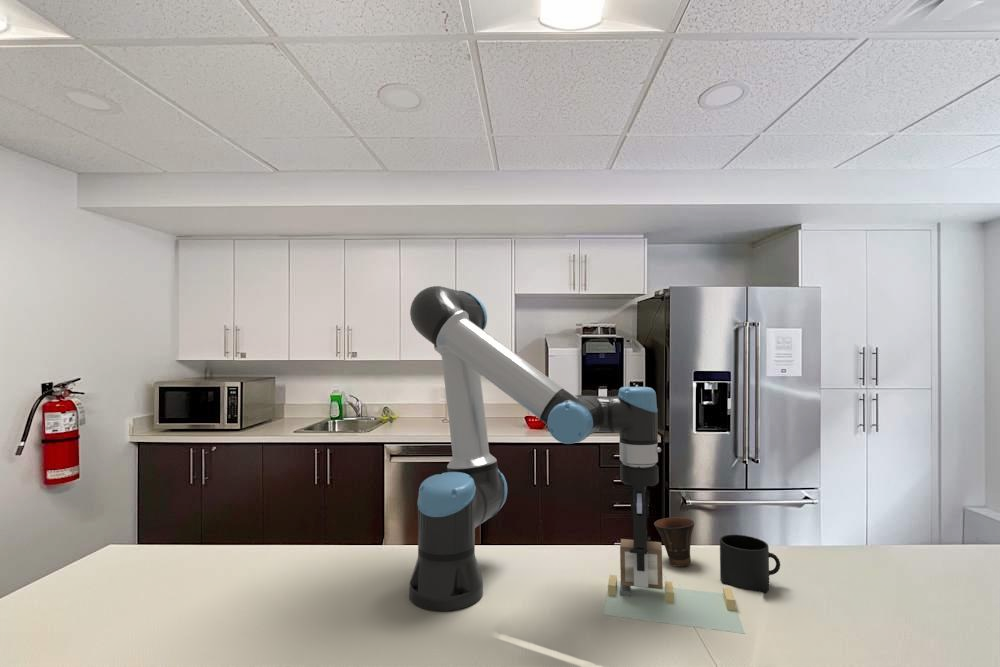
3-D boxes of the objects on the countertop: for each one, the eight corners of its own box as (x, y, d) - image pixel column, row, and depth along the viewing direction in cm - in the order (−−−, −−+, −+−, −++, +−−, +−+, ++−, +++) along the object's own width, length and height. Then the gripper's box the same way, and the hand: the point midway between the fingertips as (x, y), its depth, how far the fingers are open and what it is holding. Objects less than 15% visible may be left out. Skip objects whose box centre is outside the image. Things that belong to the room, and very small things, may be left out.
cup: (652, 554, 127) (651, 513, 127) (690, 556, 125) (689, 514, 126) (657, 569, 118) (657, 525, 118) (698, 571, 117) (698, 527, 117)
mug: (790, 597, 104) (789, 552, 105) (728, 594, 106) (727, 549, 106) (771, 577, 114) (770, 535, 114) (714, 574, 115) (714, 533, 116)
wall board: (603, 620, 96) (603, 603, 96) (609, 585, 110) (609, 570, 110) (745, 639, 89) (744, 621, 89) (731, 599, 103) (731, 584, 104)
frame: (620, 585, 103) (620, 546, 103) (621, 575, 107) (621, 538, 108) (662, 589, 101) (661, 550, 101) (662, 579, 105) (661, 542, 105)
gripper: (659, 474, 95) (662, 602, 94) (657, 455, 112) (659, 564, 111) (617, 471, 97) (620, 597, 96) (622, 454, 114) (623, 561, 113)
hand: (641, 579), depth 104 cm, fingers closed on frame, 5 cm apart
